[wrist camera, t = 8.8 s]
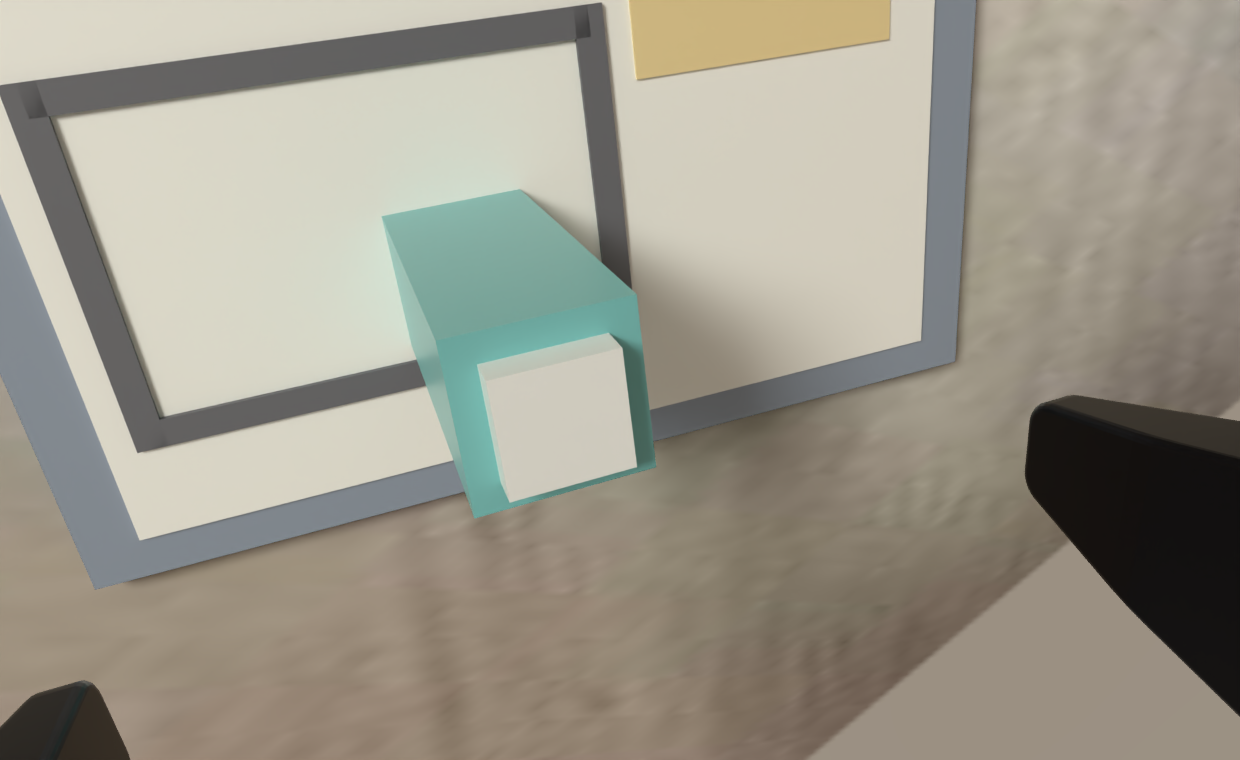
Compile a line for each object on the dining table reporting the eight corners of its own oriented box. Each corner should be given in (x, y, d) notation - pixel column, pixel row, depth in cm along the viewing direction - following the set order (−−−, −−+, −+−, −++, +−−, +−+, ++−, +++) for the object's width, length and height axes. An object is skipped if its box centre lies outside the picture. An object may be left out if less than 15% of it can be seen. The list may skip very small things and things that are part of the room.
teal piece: (519, 188, 16) (651, 307, 11) (541, 316, 17) (670, 485, 12) (381, 216, 16) (442, 357, 10) (411, 345, 17) (482, 539, 11)
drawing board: (973, -270, 16) (999, -279, 16) (941, 353, 21) (960, 364, 21) (-231, -188, 12) (-258, -196, 11) (99, 574, 17) (93, 596, 16)
